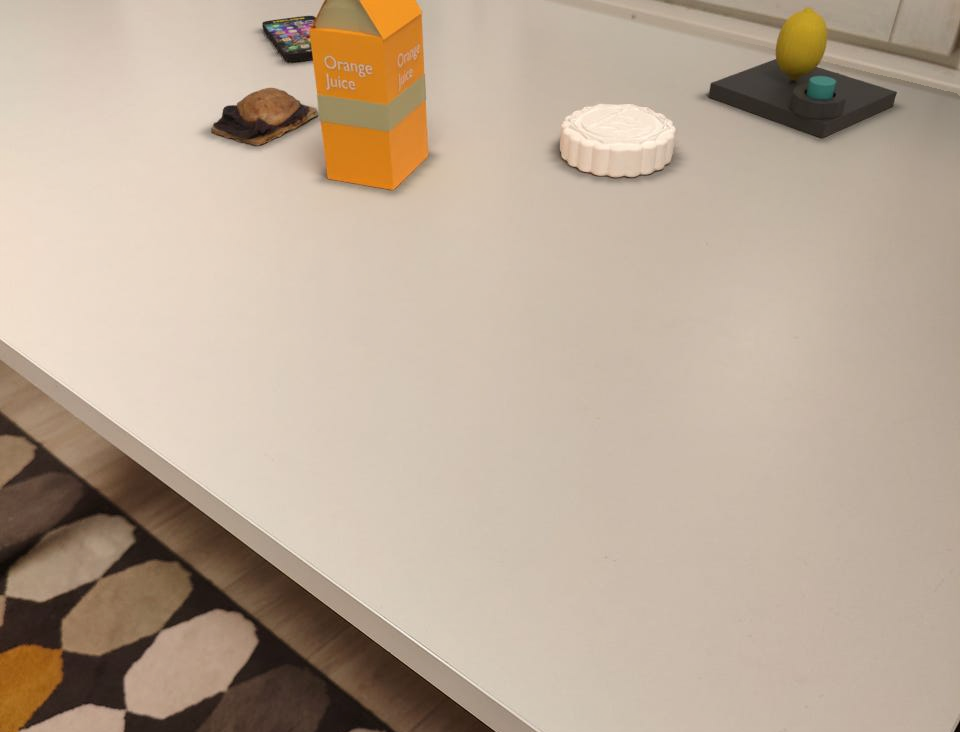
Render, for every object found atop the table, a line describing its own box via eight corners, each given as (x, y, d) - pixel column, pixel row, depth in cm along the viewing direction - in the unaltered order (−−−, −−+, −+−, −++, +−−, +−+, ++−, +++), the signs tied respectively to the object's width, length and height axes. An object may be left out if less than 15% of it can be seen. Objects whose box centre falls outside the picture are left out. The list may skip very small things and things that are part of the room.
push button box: (893, 106, 110) (902, 75, 108) (820, 139, 103) (827, 107, 101) (780, 69, 119) (786, 40, 117) (706, 98, 113) (710, 67, 110)
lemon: (800, 92, 109) (816, 18, 104) (760, 79, 112) (773, 7, 107) (827, 80, 112) (844, 8, 106) (787, 68, 115) (802, -3, 109)
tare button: (837, 96, 104) (841, 80, 103) (822, 103, 103) (826, 87, 102) (816, 89, 106) (819, 73, 105) (800, 96, 105) (804, 79, 103)
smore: (270, 102, 113) (265, 70, 110) (324, 117, 109) (320, 84, 107) (204, 131, 106) (198, 98, 104) (259, 148, 103) (253, 114, 100)
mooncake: (628, 189, 95) (632, 155, 92) (536, 156, 101) (537, 122, 98) (694, 152, 101) (699, 118, 99) (604, 122, 107) (607, 90, 105)
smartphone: (284, 55, 121) (259, 21, 132) (285, 63, 122) (260, 28, 132) (343, 47, 123) (314, 14, 134) (344, 55, 124) (315, 21, 134)
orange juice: (326, 178, 97) (299, -37, 84) (364, 145, 103) (345, -61, 90) (395, 190, 95) (378, -29, 81) (430, 156, 101) (421, -54, 87)
